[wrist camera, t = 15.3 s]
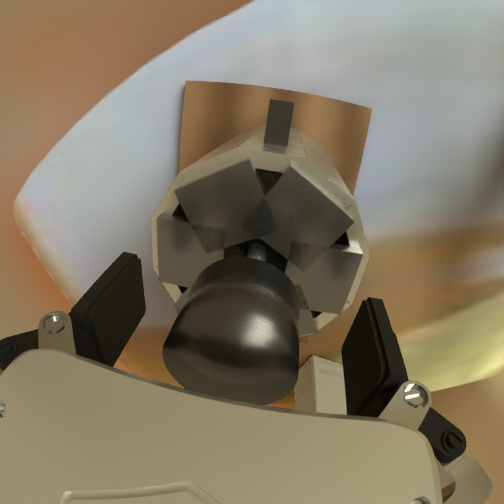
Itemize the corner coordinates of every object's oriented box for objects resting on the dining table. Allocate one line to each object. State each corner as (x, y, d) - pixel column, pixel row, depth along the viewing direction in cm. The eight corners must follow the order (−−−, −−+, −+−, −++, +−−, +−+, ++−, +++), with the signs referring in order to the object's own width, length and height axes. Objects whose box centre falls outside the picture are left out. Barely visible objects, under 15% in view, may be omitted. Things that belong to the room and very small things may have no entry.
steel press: (344, 114, 24) (410, 131, 10) (317, 238, 31) (331, 360, 17) (229, 94, 25) (149, 90, 11) (216, 220, 32) (154, 326, 17)
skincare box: (293, 373, 44) (288, 456, 31) (313, 351, 41) (313, 441, 28) (336, 386, 45) (339, 464, 32) (358, 367, 42) (367, 450, 29)
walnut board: (368, 108, 25) (371, 108, 24) (306, 336, 40) (306, 342, 39) (189, 81, 26) (185, 80, 25) (180, 312, 40) (177, 318, 39)
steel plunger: (324, 157, 23) (390, 299, 7) (306, 238, 27) (311, 435, 10) (233, 142, 23) (101, 246, 7) (224, 224, 27) (137, 399, 11)
